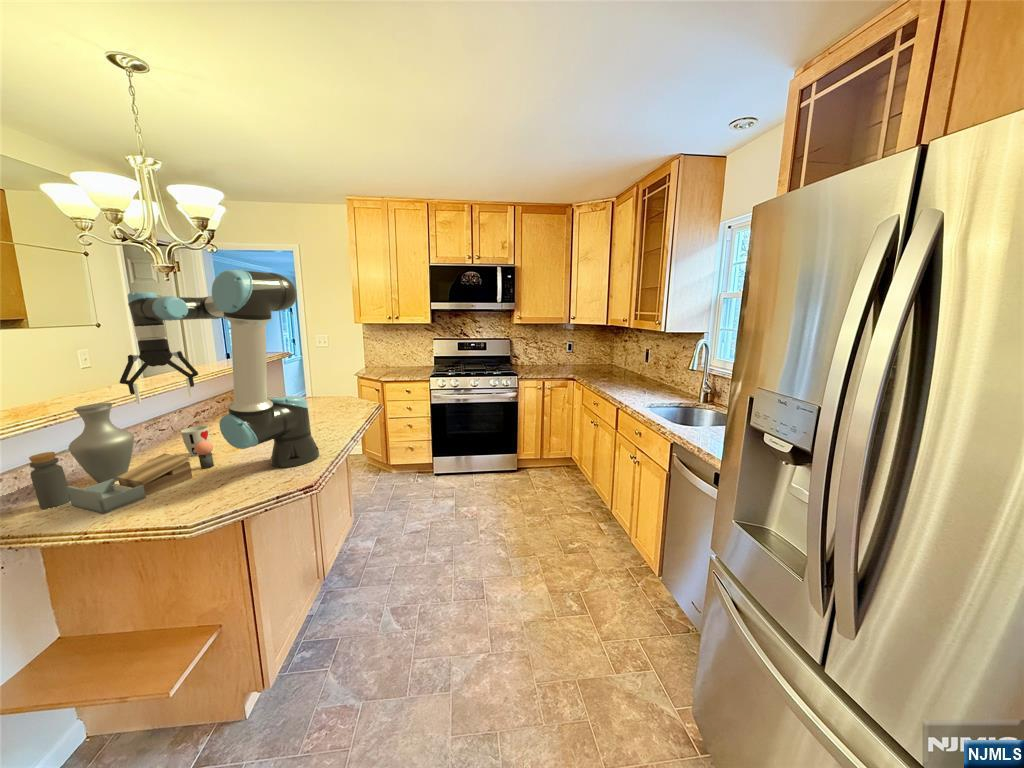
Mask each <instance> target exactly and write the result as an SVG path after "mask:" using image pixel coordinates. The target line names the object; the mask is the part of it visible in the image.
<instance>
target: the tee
mask: <svg viewBox="0 0 1024 768" xmlns="http://www.w3.org/2000/svg"><path fill="white" fill-rule="evenodd" d="M197 458H198V460H199V465H200V469H201V470H208V469H211V468H213V467H215V463H214V458H213V452H211V453H209V454H207V455H199V456H197Z"/></svg>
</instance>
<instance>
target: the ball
mask: <svg viewBox="0 0 1024 768" xmlns="http://www.w3.org/2000/svg"><path fill="white" fill-rule="evenodd" d="M213 450H214V444H213V443H212V442H209V441H200V442H198V443H197V444H196V445H195V452H196V453H197V454H199V455H207V454H209V453H212V451H213Z"/></svg>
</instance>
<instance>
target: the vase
mask: <svg viewBox="0 0 1024 768" xmlns="http://www.w3.org/2000/svg"><path fill="white" fill-rule="evenodd" d="M112 406H113V403H112V402H98V403H91V404H86V405H81V406H80V405H79V406H76V407H73V410H74V411H75V412H76V413H77V414H78V416H80V418H81V419H82V421H83V423H84V428H83V431H82V432H81V434H80V435H78V436H77V437H75V438H74V439H73V440H72V441H71V442H70V443H69V445H68V451H69V452H70V454H71V456H72V457H73V459H75V461H76V462H77V463H78V464H79V465H80V467H81V468H82V469H83V471H85V473H86V474H87V475H88V476H90V477H91V478H92V480H94V481H95V482H96V484H98V483H101V482H105V481H108V480H111V479H114V482H119V481H118V478H117V477H118V476H120V475H122V474H124V473H126V472H128V471H129V467H130V464H131V460H132V456H133V455H132V454H133V450H134V443H135V437H134V434H133V433H132V432H131V431H128V430H126V429H122V428H120V427H117V426H116V425H115V424H113V423H112V421H111V419H110V414H111V409H112Z"/></svg>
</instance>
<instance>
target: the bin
mask: <svg viewBox="0 0 1024 768" xmlns="http://www.w3.org/2000/svg"><path fill="white" fill-rule="evenodd" d="M115 482H116V481H115ZM115 482H114V479H111V480H108V481H105V482H101V483H95V484H93V485H90V486H86V487H83V488H81V487H76V486H72V485H68V486H67V490H68V494H69V497H70V504H71V507H72V506H73V507H74V508H75V509H81V510H85V511H89V512H92V513H97V514H100V515H106V514H108V513H111V512H114V511H116V510H118V509H121V508H124V507H126V506H129V505H131V504H134V503H137V502H139V501H141V500H145V499H146V498H147V496H146V494H145V490H144V486H143V485H140V486H137V487H135V488H131V487H127V486H122V485H119V484H116V483H115Z"/></svg>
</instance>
